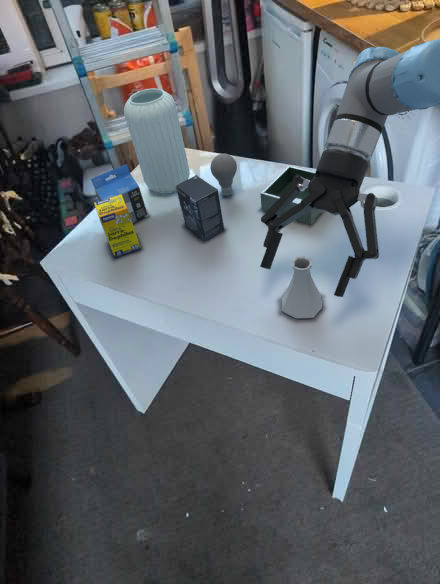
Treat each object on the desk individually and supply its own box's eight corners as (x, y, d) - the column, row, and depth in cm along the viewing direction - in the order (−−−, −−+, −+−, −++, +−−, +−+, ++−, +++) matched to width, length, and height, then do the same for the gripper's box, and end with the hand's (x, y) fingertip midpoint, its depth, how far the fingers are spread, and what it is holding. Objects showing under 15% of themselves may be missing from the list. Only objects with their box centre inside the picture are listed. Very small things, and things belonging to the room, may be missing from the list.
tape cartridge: (114, 233, 98) (95, 186, 89) (107, 225, 101) (89, 179, 92) (148, 216, 101) (134, 170, 92) (141, 209, 103) (127, 163, 94)
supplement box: (115, 259, 92) (98, 217, 84) (109, 243, 96) (93, 202, 88) (142, 249, 93) (127, 207, 85) (135, 234, 97) (121, 193, 89)
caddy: (336, 194, 97) (338, 177, 94) (310, 225, 91) (311, 207, 88) (288, 182, 103) (288, 165, 100) (261, 210, 97) (260, 193, 94)
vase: (196, 172, 112) (179, 83, 96) (184, 198, 104) (163, 106, 88) (155, 172, 114) (131, 85, 99) (140, 197, 107) (112, 108, 91)
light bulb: (235, 202, 100) (230, 163, 93) (211, 199, 102) (204, 161, 95) (243, 187, 104) (239, 149, 97) (220, 185, 106) (214, 147, 99)
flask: (275, 315, 75) (273, 274, 68) (287, 286, 80) (286, 245, 73) (317, 324, 73) (319, 282, 66) (326, 293, 77) (329, 251, 70)
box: (184, 225, 97) (174, 185, 89) (205, 214, 98) (197, 174, 91) (204, 242, 92) (195, 200, 84) (225, 230, 94) (218, 188, 86)
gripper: (430, 179, 66) (377, 309, 69) (286, 147, 78) (247, 259, 81) (425, 165, 59) (367, 309, 63) (269, 133, 71) (228, 255, 75)
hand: (299, 281), depth 72 cm, fingers open, 13 cm apart
